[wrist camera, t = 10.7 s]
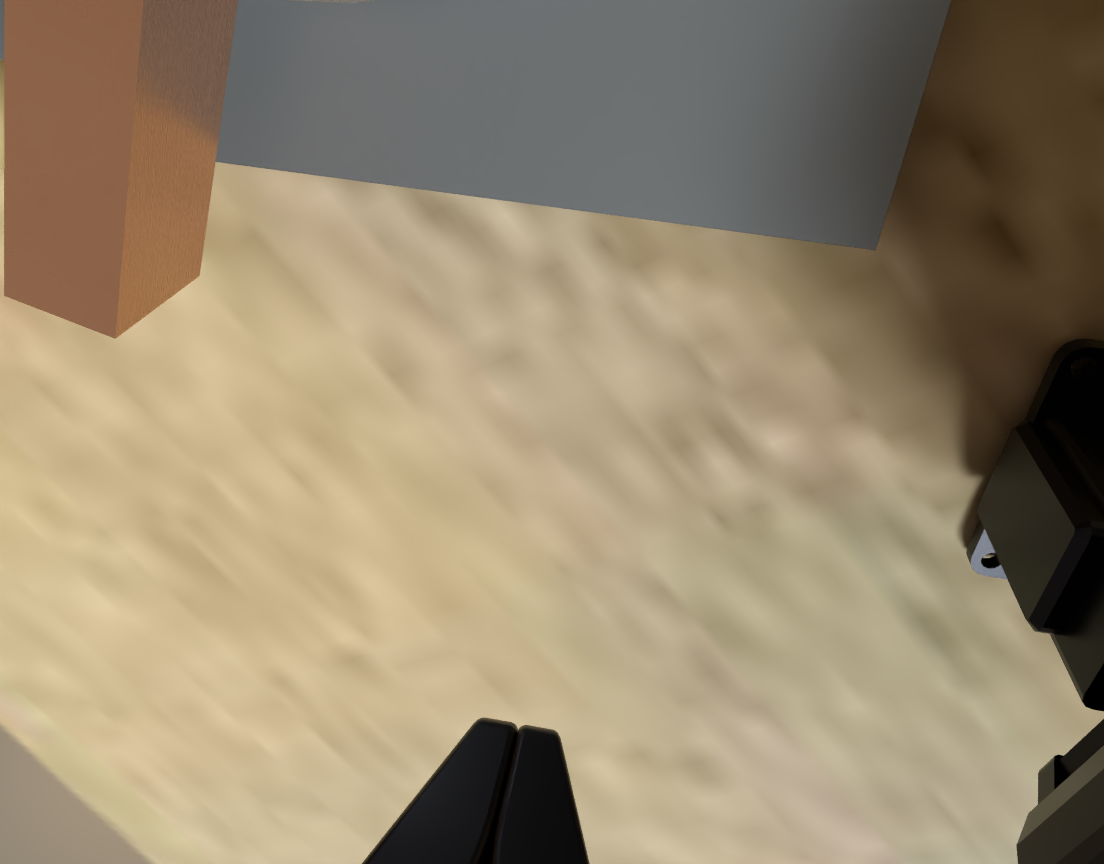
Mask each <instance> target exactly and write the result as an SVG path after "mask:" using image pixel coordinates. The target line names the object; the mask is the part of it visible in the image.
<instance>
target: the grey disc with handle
mask: <svg viewBox="0 0 1104 864" xmlns="http://www.w3.org/2000/svg"><path fill="white" fill-rule="evenodd" d="M293 1H312V2H335V3H356V2H365V1H374V0H293ZM237 4H238V0H4V296H6V297H9V298H12V299H14V300H17V301H19V302H22V303H25V304H27V305H30V306H32V307H35V308H37V309H40V310H43V311H45V312H48V313H50V314H53V315H56V316H58V317H61V318H63V319H66V320H69V321H71V322H74V323H76V324H79V325H81V326H84V327H87V328H89V329H92V330H94V331H97V332H100V333H102V334H105V335H107V336H110V337H112V338H117V337H118V336H119V335H121V334H122V333H123V332H125V331H126V330H127V329H129V328H130V327H132V326H133V325H134V324H136V323H137V322H138V321H140V320H141V319H142V318H144V317H145V316H146V315H148V314H149V313H150V312H152V311H153V310H154V309H156V308H157V307H158V306H160V305H161V304H162V303H164V302H165V301H166V300H168V299H169V298H170V297H172V296H173V295H174V294H176V293H177V292H178V291H180V290H181V289H182V288H184V287H185V286H186V285H188V284H189V283H190V282H192V281H193V280H194V279H196V278H197V277H198V276H199V275H200V268H201V261H202V254H203V247H204V240H205V232H206V225H207V218H208V211H209V204H210V197H211V190H212V182H213V175H214V168H215V161H216V154H217V147H218V139H219V132H220V125H221V118H222V111H223V104H224V97H225V89H226V82H227V75H228V68H229V61H230V54H231V47H232V39H233V32H234V25H235V18H236V11H237Z"/></svg>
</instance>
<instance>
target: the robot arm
mask: <svg viewBox="0 0 1104 864" xmlns="http://www.w3.org/2000/svg"><path fill="white" fill-rule="evenodd" d="M1085 357H1089V362H1088V363H1087V364H1086V365H1085V366H1084V367H1082V368H1080V369H1077V370H1071V366H1072V365H1073V363H1074V362H1075V361H1076V360H1078V359H1080V358H1085ZM977 513H978V515H979V518H980V521H979V523H978V525H977V527H976V529H975V532H974V534H973V536H972V538H971V541H970V543H969V545H968V547H967V552H966V554H967V556H968V559H969V561H970V564H971V566H972V569H973V570H974V571H976V572H977V573H978V574H981V575H984V576H990V577H996V578H1002V579H1008V581H1009V584H1010V586H1011V588H1012V590H1013V592H1014V595H1015V597H1016V599H1017V601H1018V603H1019V606H1020V608H1021V610H1022V612H1023V614H1024V617H1025V619H1026V620H1027V622H1028V623H1029V624H1030V626H1031V627H1032V628H1033V630H1034V631H1035V632H1042V633H1048V634H1050V635H1051V638H1052V640H1053V642H1054V644H1055V646H1056V648H1057V650H1058V652H1059V654H1060V656H1061V658H1062V660H1063V663H1064V665H1065V667H1066V669H1067V671H1068V673H1069V675H1070V677H1071V679H1072V681H1073V683H1074V686H1075V688H1076V690H1077V692H1078V694H1079V696H1080V698H1081V700H1082V702H1083V703H1084V705H1085V706H1086V707H1088V708H1091V709H1093V710H1099V711H1104V342H1103V341H1096V340H1088V339H1078V340H1074V341H1071V342H1068V343H1066V344H1065V345H1063V346H1062V347H1061V348H1059V349H1058V351H1057V352H1056V353H1055V355H1054V356H1053V359H1052V361H1051V363H1050V365H1049V367H1048V370H1047V372H1046V374H1045V376H1044V379H1043V381H1042V383H1041V385H1040V387H1039V390H1038V392H1037V394H1036V396H1035V398H1034V401H1033V403H1032V405H1031V407H1030V410H1029V412H1028V414H1027V416H1026V418H1025V420H1024V421H1022V422H1021V423H1019V424H1018V425H1017V426H1015V427H1014V428H1013V429H1012V431H1011V433H1010V436H1009V438H1008V440H1007V442H1006V445H1005V447H1004V449H1003V451H1002V454H1001V456H1000V458H999V460H998V463H997V465H996V467H995V469H994V472H993V474H992V476H991V478H990V481H989V483H988V485H987V487H986V490H985V492H984V494H983V496H982V499H981V501H980V503H979V505H978V508H977ZM989 553H996V555H995V556H993V557H991V558H983V557H984V555H986V554H989ZM1017 856H1018V864H1104V719H1103V720H1102V721H1101V722H1100V723H1099V724H1098V725H1097V726H1096V727H1095V728H1093V729H1092V730H1091V731H1090V732H1089V733H1088V734H1087V735H1086V736H1085V737H1084V738H1083V739H1082V740H1081V741H1079V742H1078V743H1077V744H1076V745H1075V746H1074V747H1073V748H1072V749H1071V750H1070V751H1069V752H1068V753H1067V754H1065V755H1064V756H1062V755H1056V756H1054V757H1053V758H1052V759H1051V760H1050V761H1049V762H1048V763H1047V764H1046V765H1045V766H1044V767H1043V768H1042V769H1041V770H1039V773H1038V805H1037V806H1036V807H1035V808H1034V809H1033V810H1032V811H1030V812H1029V814H1028V816H1027V819H1026V822H1025V824H1024V827H1023V830H1022V832H1021V835H1020V838H1019V840H1018V843H1017ZM362 864H589V860H588V855H587V851H586V847H585V842H584V838H583V834H582V829H581V825H580V821H579V816H578V812H577V808H576V803H575V799H574V795H573V790H572V786H571V782H570V777H569V773H568V769H567V764H566V760H565V756H564V751H563V747H562V743H561V739H560V736H559V734H558V733H557V732H556V731H555V730H551V729H546V728H540V727H535V726H529V725H524V726H522V727H520V728H519V730H518V729H517V726H516V725H515V724H514V723H512V722H507V721H501V720H496V719H490V718H480V719H478V720H477V721H476V722H475V723H474V724H473V725H472V726H471V727H470V729H469V730H468V731H467V732H466V734H465V735H464V736H463V737H462V739H461V740H460V741H459V742H458V744H457V745H456V746H455V748H454V749H453V750H452V751H451V753H450V754H449V755H448V756H447V758H446V759H445V760H444V761H443V763H442V764H441V765H440V766H439V768H438V769H437V770H436V771H435V773H434V774H433V775H432V776H431V778H430V779H429V780H428V781H427V783H426V784H425V785H424V786H423V788H422V789H421V790H420V791H419V793H418V794H417V795H416V796H415V798H414V799H413V800H412V801H411V803H410V804H409V805H408V806H407V808H406V809H405V810H404V811H403V813H402V814H401V815H400V816H399V818H398V819H397V820H396V821H395V823H394V824H393V825H392V826H391V828H390V829H389V830H388V831H387V833H386V834H385V835H384V836H383V838H382V839H381V840H380V841H379V843H378V844H377V845H376V846H375V848H374V849H373V850H372V852H371V853H370V854H369V855H368V857H367V858H366V859H365V860H364V862H363V863H362Z"/></svg>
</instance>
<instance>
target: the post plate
mask: <svg viewBox="0 0 1104 864" xmlns="http://www.w3.org/2000/svg"><path fill="white" fill-rule="evenodd" d="M950 3H951V0H374V1H365V2H356V3H335V2H312V1H293V0H238V4H237V11H236V18H235V25H234V32H233V39H232V47H231V54H230V61H229V68H228V75H227V82H226V89H225V97H224V104H223V111H222V118H221V125H220V132H219V139H218V147H217V154H216V161H215V162H221V163H229V164H236V165H244V166H251V167H258V168H266V169H273V170H281V171H288V172H296V173H303V174H311V175H318V176H326V177H333V178H341V179H348V180H355V181H363V182H370V183H378V184H385V185H393V186H400V187H408V188H415V189H423V190H430V191H438V192H445V193H452V194H460V195H467V196H475V197H482V198H490V199H497V200H505V201H512V202H520V203H527V204H535V205H542V206H549V207H557V208H564V209H572V210H579V211H587V212H594V213H602V214H609V215H617V216H624V217H632V218H639V219H646V220H654V221H661V222H669V223H676V224H684V225H691V226H699V227H706V228H714V229H721V230H729V231H736V232H743V233H751V234H758V235H766V236H773V237H781V238H788V239H796V240H803V241H811V242H818V243H826V244H833V245H840V246H848V247H855V248H863V249H870V250H876V247H877V244H878V240H879V237H880V234H881V230H882V227H883V224H884V221H885V217H886V214H887V211H888V207H889V204H890V201H891V197H892V194H893V191H894V188H895V184H896V181H897V178H898V174H899V171H900V168H901V165H902V161H903V158H904V155H905V151H906V148H907V145H908V141H909V138H910V135H911V132H912V128H913V125H914V122H915V118H916V115H917V112H918V109H919V105H920V102H921V99H922V95H923V92H924V89H925V85H926V82H927V79H928V76H929V72H930V69H931V66H932V62H933V59H934V56H935V53H936V49H937V46H938V43H939V39H940V36H941V33H942V29H943V26H944V23H945V20H946V16H947V13H948V10H949V6H950ZM0 168H2V169H4V0H0Z"/></svg>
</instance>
